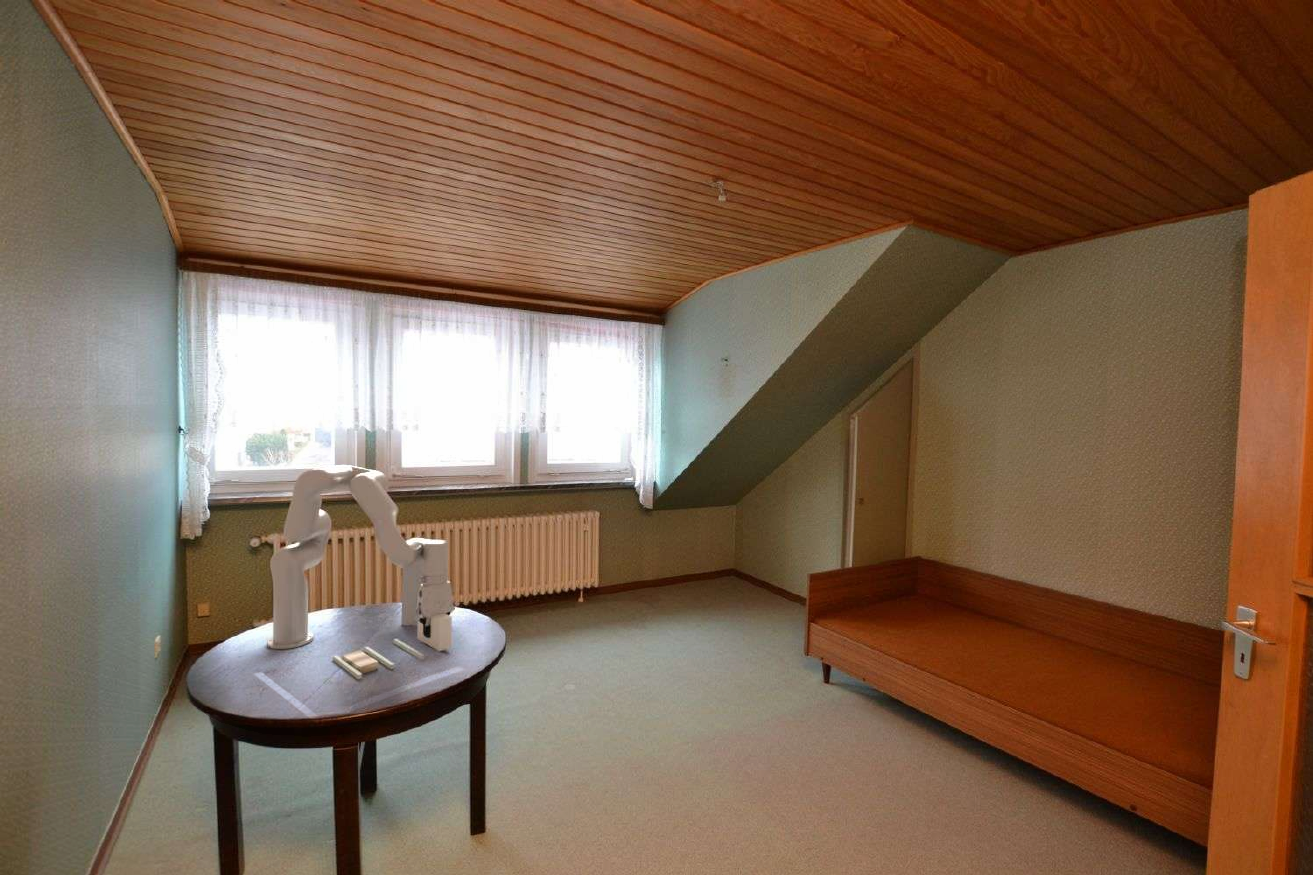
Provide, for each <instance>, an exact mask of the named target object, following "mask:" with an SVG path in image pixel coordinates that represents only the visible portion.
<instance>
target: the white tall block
mask: <svg viewBox="0 0 1313 875" xmlns="http://www.w3.org/2000/svg"><path fill="white" fill-rule="evenodd" d="M410 539H412V538H411V537H410ZM427 539H428V540H436V539H430V538H427ZM443 540H444V541H446V542H447V543H448V544H449V540H448V539H443ZM401 572H402V573H401V613H400V614H401V617H400V619H401V621H400V622H401V624H400V625H401V626H409V625H413V626H412V627H418V621H417V620H415V619H413V616H414V614H415V612H416V610H417V604H418V595H419V589H420V586H421V584H423V583H422V582H419V578H422V575H423V560H420V561H418V562H415V563H414V564H412V565H410V566H408V567H401Z"/></svg>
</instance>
